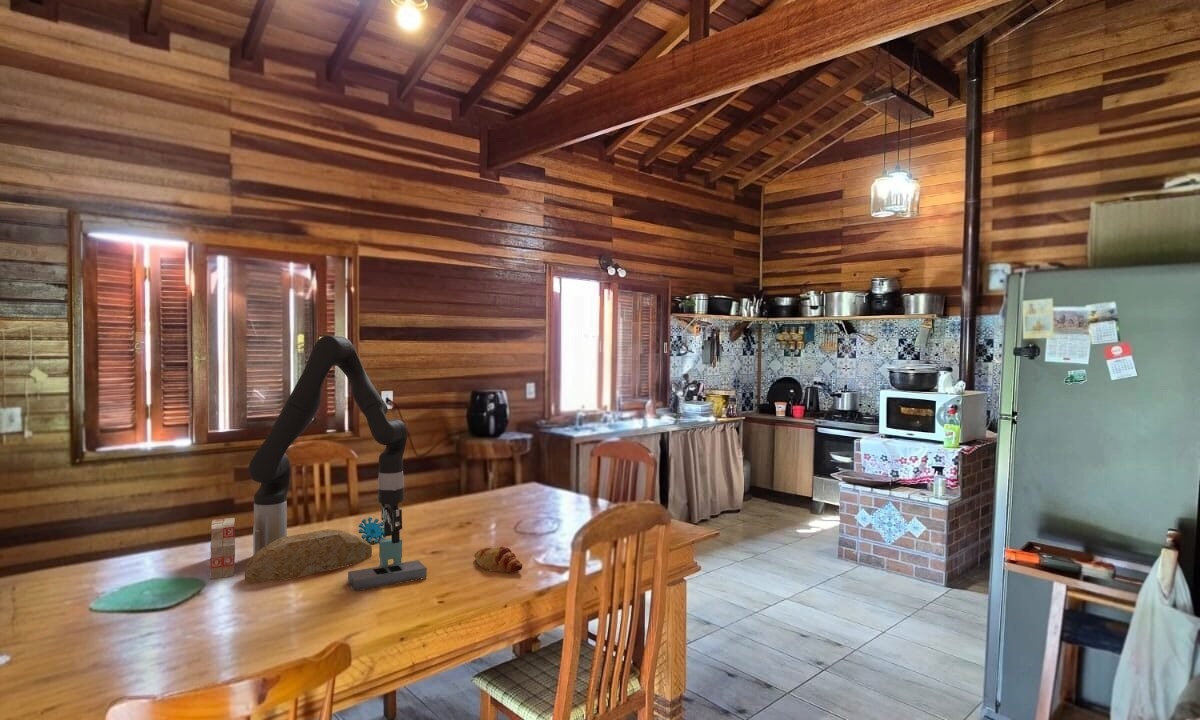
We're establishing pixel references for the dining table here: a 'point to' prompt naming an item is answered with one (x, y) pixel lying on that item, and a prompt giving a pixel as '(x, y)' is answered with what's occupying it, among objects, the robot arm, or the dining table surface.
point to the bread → (306, 555)
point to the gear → (372, 530)
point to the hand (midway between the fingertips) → (391, 539)
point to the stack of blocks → (222, 548)
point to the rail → (386, 575)
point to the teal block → (389, 551)
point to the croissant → (498, 559)
